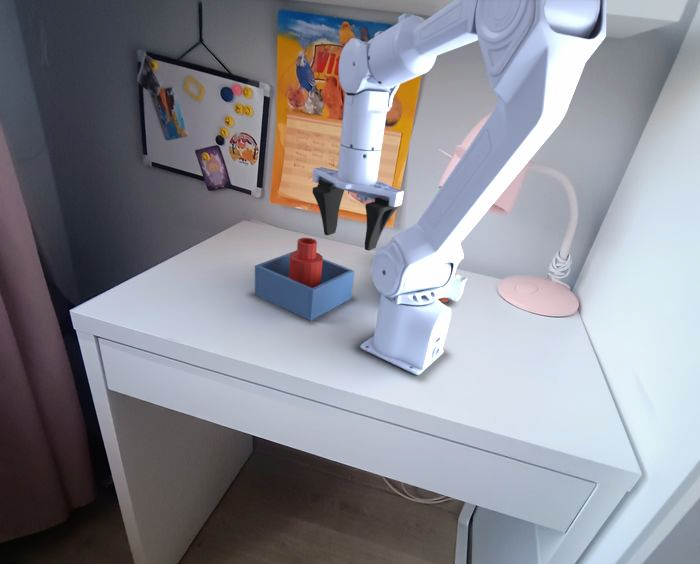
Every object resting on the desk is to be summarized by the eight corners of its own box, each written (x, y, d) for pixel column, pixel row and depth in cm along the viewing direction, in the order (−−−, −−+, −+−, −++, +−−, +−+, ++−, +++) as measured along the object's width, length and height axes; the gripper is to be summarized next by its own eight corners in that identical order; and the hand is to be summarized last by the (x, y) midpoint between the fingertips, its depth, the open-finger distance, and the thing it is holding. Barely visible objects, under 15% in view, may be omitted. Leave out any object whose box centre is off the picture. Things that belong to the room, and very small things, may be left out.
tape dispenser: (381, 266, 95) (351, 300, 79) (385, 241, 93) (354, 270, 76) (468, 282, 91) (456, 321, 74) (474, 256, 89) (463, 290, 72)
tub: (351, 298, 79) (354, 270, 76) (310, 321, 71) (313, 290, 68) (297, 276, 84) (299, 249, 81) (254, 294, 76) (254, 265, 73)
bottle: (325, 294, 78) (330, 242, 73) (306, 304, 74) (309, 250, 69) (302, 283, 80) (305, 232, 75) (281, 293, 76) (283, 239, 71)
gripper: (301, 137, 65) (296, 232, 72) (390, 161, 58) (375, 262, 66) (332, 134, 70) (324, 223, 77) (417, 155, 63) (400, 250, 71)
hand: (349, 241), depth 72 cm, fingers open, 7 cm apart
